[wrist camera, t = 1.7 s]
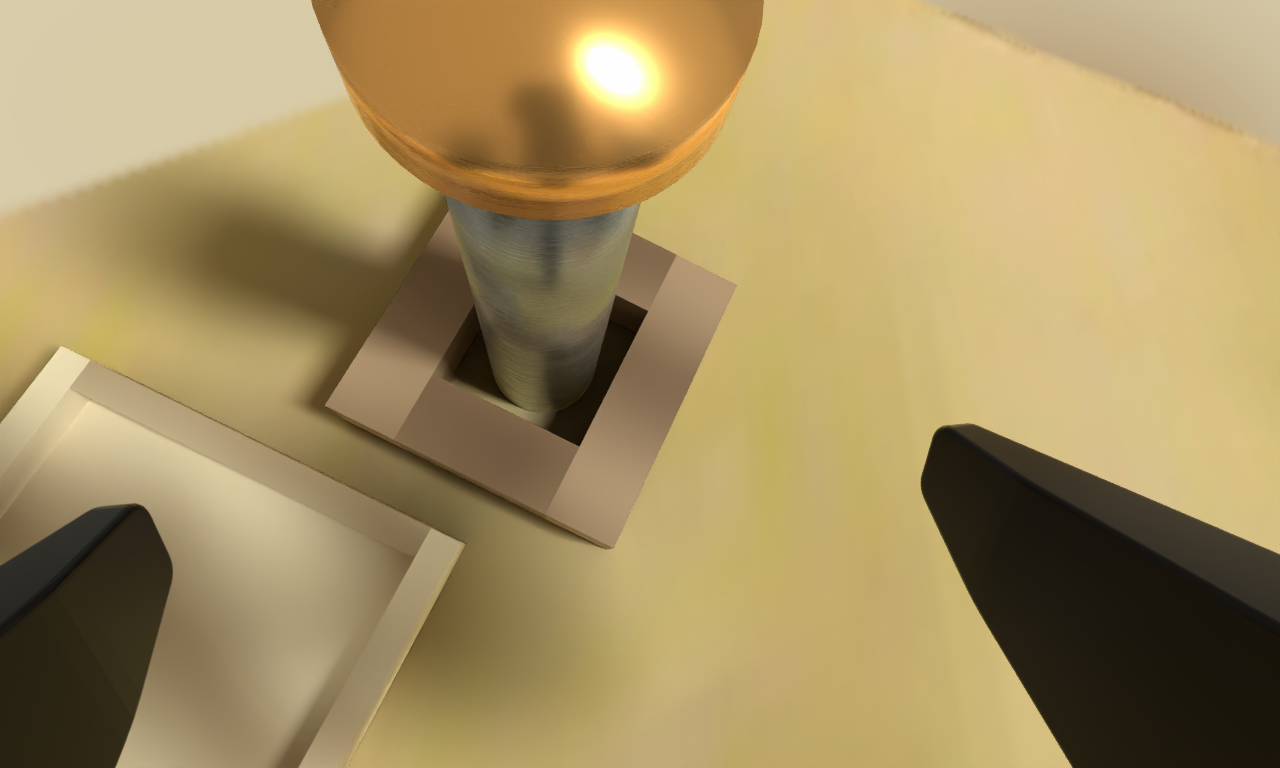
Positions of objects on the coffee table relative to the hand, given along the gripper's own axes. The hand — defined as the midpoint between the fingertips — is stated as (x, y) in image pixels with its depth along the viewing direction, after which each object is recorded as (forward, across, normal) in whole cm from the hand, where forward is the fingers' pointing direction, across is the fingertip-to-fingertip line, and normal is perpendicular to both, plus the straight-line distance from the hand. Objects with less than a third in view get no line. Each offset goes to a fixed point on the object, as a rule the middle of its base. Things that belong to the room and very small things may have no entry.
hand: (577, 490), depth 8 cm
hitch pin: (+12, 0, +5) cm, 12 cm away
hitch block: (+12, 0, +5) cm, 12 cm away
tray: (+7, +10, +9) cm, 15 cm away
